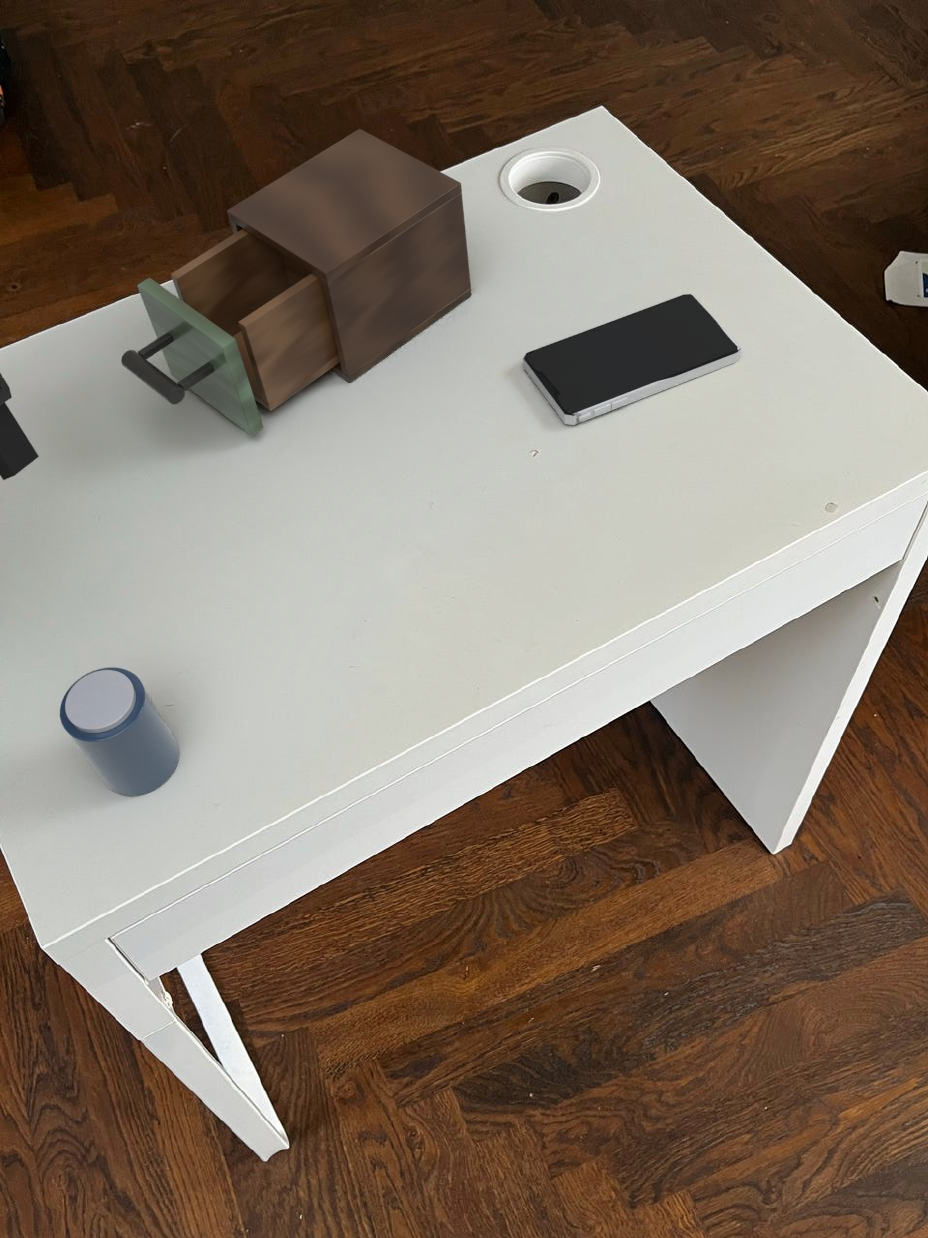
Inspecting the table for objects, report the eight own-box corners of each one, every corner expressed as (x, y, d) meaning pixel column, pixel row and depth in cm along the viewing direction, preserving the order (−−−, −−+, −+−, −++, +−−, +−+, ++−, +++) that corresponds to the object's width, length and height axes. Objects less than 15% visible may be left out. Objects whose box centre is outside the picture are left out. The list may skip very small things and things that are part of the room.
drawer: (208, 468, 85) (173, 380, 78) (128, 403, 90) (88, 314, 83) (374, 349, 91) (356, 257, 84) (291, 294, 96) (267, 202, 88)
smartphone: (744, 350, 87) (568, 418, 84) (742, 362, 88) (568, 430, 85) (688, 290, 92) (520, 353, 89) (687, 302, 93) (520, 365, 90)
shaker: (130, 812, 70) (87, 753, 64) (85, 762, 72) (39, 701, 66) (195, 758, 72) (159, 696, 66) (149, 711, 74) (110, 647, 68)
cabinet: (350, 383, 90) (325, 273, 82) (258, 320, 95) (226, 210, 87) (472, 295, 95) (461, 182, 86) (378, 240, 100) (359, 128, 92)
